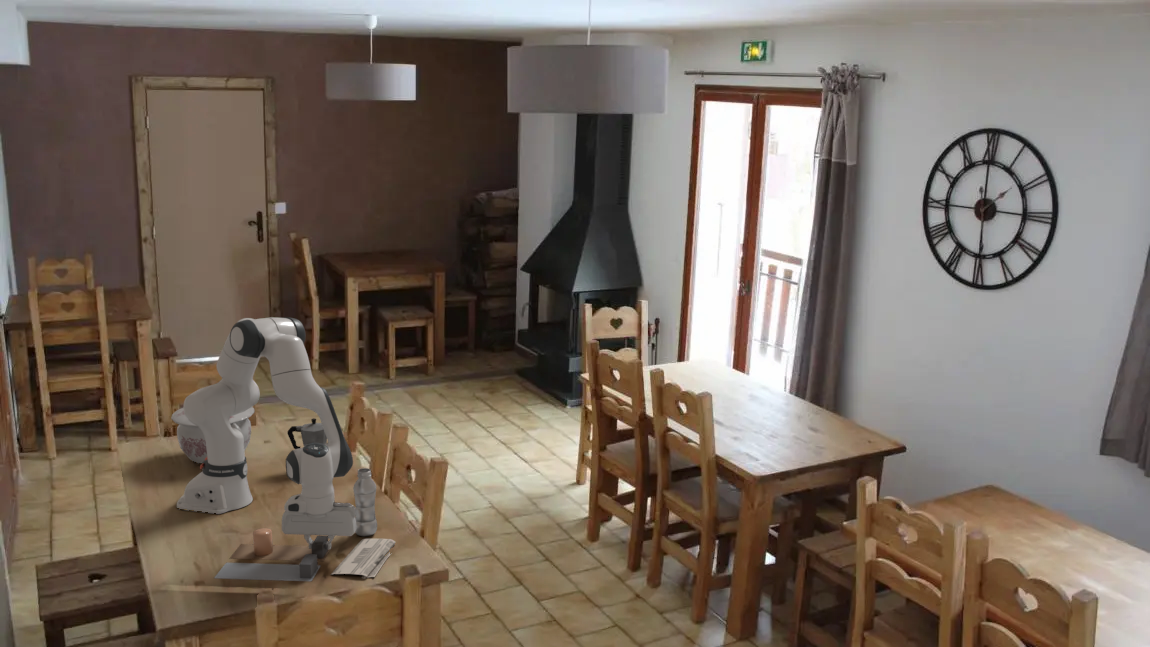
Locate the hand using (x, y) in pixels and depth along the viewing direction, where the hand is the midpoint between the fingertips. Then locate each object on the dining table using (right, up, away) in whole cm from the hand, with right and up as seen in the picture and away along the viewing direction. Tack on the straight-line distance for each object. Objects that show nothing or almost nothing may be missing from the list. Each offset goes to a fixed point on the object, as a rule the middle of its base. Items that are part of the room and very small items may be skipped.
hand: (320, 548), depth 284 cm
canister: (-16, -1, +1) cm, 16 cm away
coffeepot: (-19, +13, +65) cm, 69 cm away
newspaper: (+13, -4, +1) cm, 14 cm away
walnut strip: (-11, -2, +1) cm, 11 cm away
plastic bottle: (+10, 0, +16) cm, 19 cm away
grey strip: (-11, -5, -10) cm, 16 cm away
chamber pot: (-55, +15, +73) cm, 93 cm away
